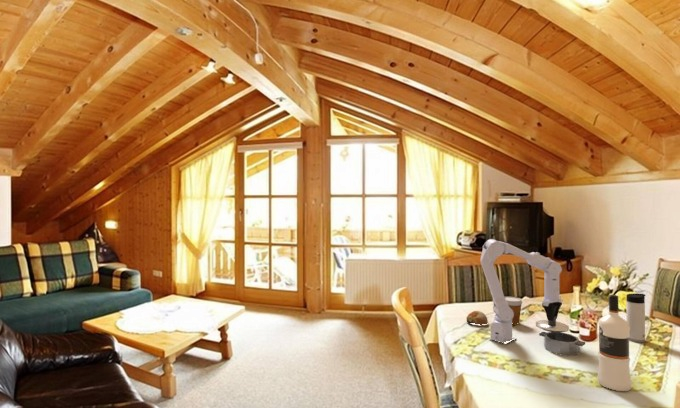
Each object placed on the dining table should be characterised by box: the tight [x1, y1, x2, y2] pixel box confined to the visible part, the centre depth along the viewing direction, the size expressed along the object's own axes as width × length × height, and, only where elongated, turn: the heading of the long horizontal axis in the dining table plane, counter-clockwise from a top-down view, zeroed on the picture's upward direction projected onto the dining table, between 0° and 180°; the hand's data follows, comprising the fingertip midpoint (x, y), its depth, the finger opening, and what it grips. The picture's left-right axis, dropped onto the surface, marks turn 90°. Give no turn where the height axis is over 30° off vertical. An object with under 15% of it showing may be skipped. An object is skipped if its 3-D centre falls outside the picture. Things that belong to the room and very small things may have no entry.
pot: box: [538, 331, 586, 357], centre depth 154 cm, size 12×16×5 cm
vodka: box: [596, 294, 633, 392], centre depth 124 cm, size 9×9×30 cm
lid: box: [535, 315, 570, 333], centre depth 163 cm, size 13×13×6 cm
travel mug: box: [625, 292, 646, 344], centre depth 162 cm, size 6×7×20 cm
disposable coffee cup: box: [504, 296, 523, 324], centre depth 187 cm, size 10×10×12 cm
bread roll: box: [466, 310, 489, 325], centre depth 187 cm, size 10×10×8 cm
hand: (552, 319), depth 163 cm, fingers closed on lid, 3 cm apart
